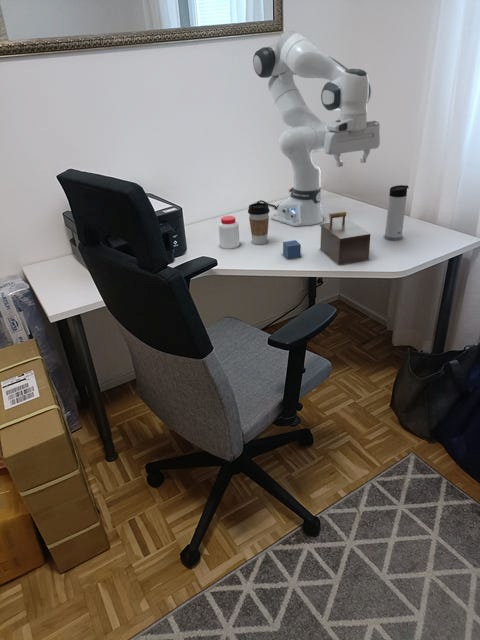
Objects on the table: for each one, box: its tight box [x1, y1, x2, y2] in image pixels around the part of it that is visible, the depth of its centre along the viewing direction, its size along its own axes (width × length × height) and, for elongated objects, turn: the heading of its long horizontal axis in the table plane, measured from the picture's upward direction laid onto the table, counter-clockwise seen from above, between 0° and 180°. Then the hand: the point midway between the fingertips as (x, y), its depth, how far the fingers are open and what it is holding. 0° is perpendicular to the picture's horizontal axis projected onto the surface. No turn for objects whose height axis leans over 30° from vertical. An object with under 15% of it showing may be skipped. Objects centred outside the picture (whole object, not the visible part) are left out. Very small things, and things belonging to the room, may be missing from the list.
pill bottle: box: [218, 215, 241, 250], centre depth 191 cm, size 8×8×11 cm
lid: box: [319, 210, 372, 241], centre depth 174 cm, size 16×12×5 cm
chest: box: [320, 226, 371, 266], centre depth 177 cm, size 16×12×9 cm
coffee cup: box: [247, 202, 271, 245], centre depth 191 cm, size 8×8×15 cm
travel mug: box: [384, 184, 409, 241], centre depth 186 cm, size 6×7×20 cm
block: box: [282, 239, 302, 260], centre depth 180 cm, size 5×5×5 cm
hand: (351, 164), depth 173 cm, fingers open, 8 cm apart
